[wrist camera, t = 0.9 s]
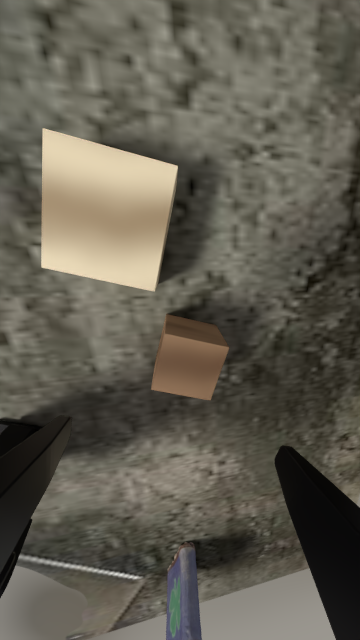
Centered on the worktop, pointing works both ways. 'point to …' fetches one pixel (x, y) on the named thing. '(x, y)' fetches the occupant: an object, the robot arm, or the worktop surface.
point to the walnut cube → (189, 358)
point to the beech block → (104, 211)
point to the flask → (183, 596)
